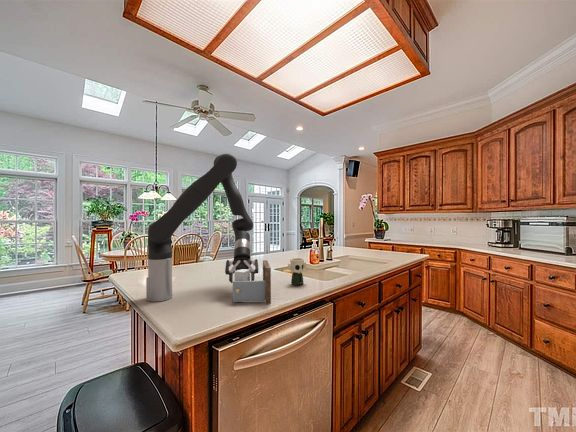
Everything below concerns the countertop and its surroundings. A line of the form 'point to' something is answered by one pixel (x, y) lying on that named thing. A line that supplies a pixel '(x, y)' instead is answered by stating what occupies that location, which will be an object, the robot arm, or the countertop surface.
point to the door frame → (267, 280)
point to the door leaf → (249, 291)
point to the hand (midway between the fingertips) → (241, 281)
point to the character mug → (297, 270)
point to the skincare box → (242, 275)
